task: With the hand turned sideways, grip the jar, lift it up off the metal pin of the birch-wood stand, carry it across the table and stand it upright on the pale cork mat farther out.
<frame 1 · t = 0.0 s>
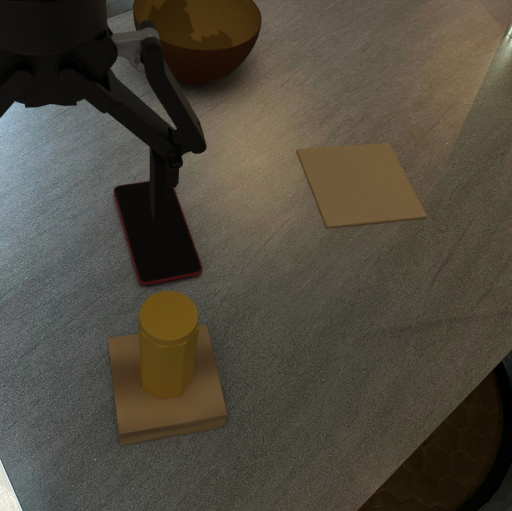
hand: (69, 219, 49), 20 cm above the table, tool pointing down, fingers open, 13 cm apart
smartphone: (156, 233, 74), on the table
mat: (359, 183, 84), on the table
jar: (165, 375, 60), point 3 cm above the table, touching stand
stand: (165, 388, 63), on the table
bowl: (193, 73, 94), on the table
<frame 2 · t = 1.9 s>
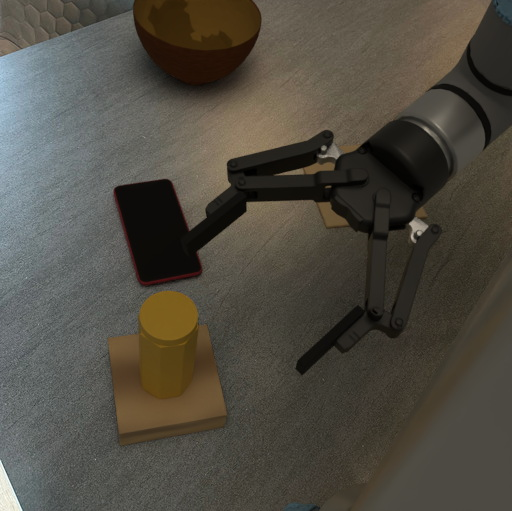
hand: (239, 306, 50), 17 cm above the table, tool tilted 75°, fingers open, 13 cm apart
nothing on the table moved.
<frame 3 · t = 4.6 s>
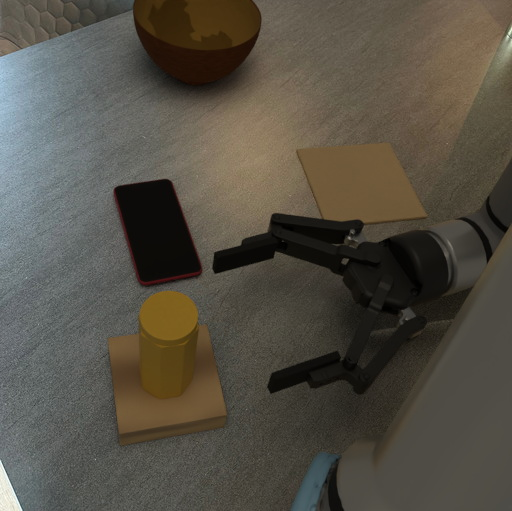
hand: (240, 319, 58), 9 cm above the table, tool horizontal, fingers open, 13 cm apart
nothing on the table moved.
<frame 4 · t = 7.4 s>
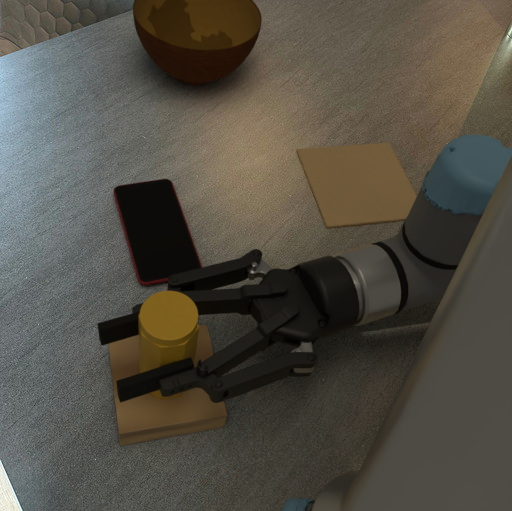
hand: (109, 362, 54), 9 cm above the table, tool horizontal, fingers closed on jar, 5 cm apart
jar: (166, 375, 60), point 3 cm above the table, touching gripper, stand
everything else where it was.
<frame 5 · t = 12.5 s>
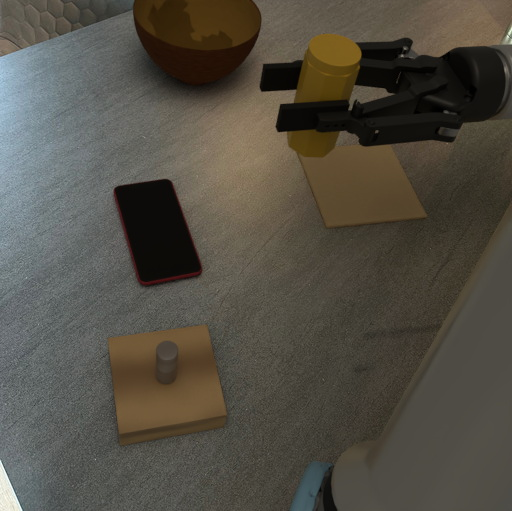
hand: (270, 97, 58), 22 cm above the table, tool horizontal, fingers closed on jar, 5 cm apart
jar: (310, 141, 64), point 16 cm above the table, touching gripper
everything else where it was.
when the fingers open (6 cm above the table, at t = 17.9 s): jar stays where it is, resting on mat.
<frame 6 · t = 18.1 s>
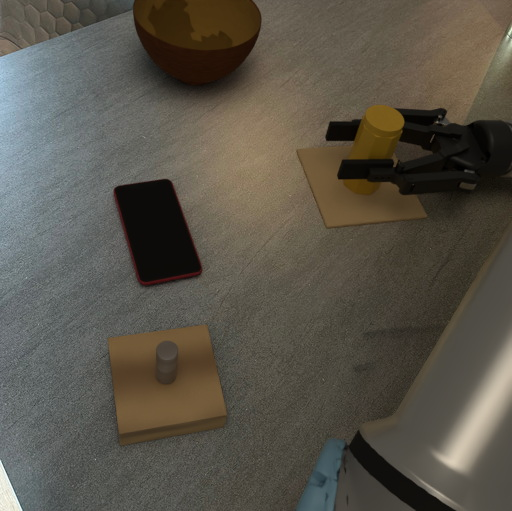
hand: (334, 149, 78), 6 cm above the table, tool horizontal, fingers open, 6 cm apart
jar: (360, 181, 84), resting on mat
everything else where it was.
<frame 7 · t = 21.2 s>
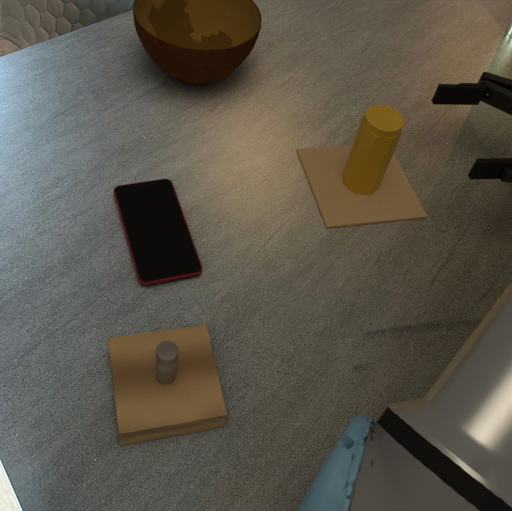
hand: (453, 129, 77), 10 cm above the table, tool horizontal, fingers open, 13 cm apart
nothing on the table moved.
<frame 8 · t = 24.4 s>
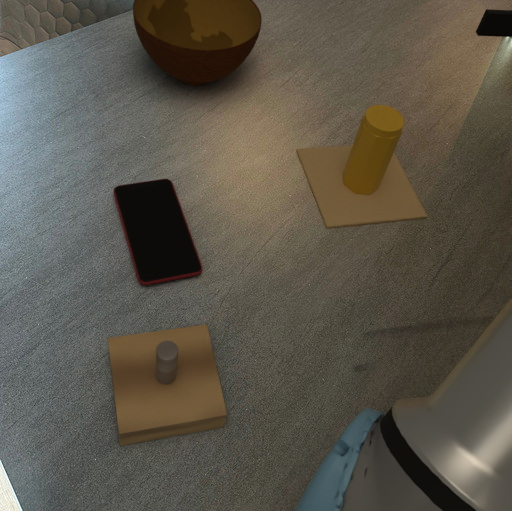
hand: (505, 61, 63), 24 cm above the table, tool horizontal, fingers open, 13 cm apart
nothing on the table moved.
at the end: jar inside the target area on the mat (0.0 cm from its centre), point 0.4 cm above the mat's base; jar tilted 0°; the gripper is holding nothing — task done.
